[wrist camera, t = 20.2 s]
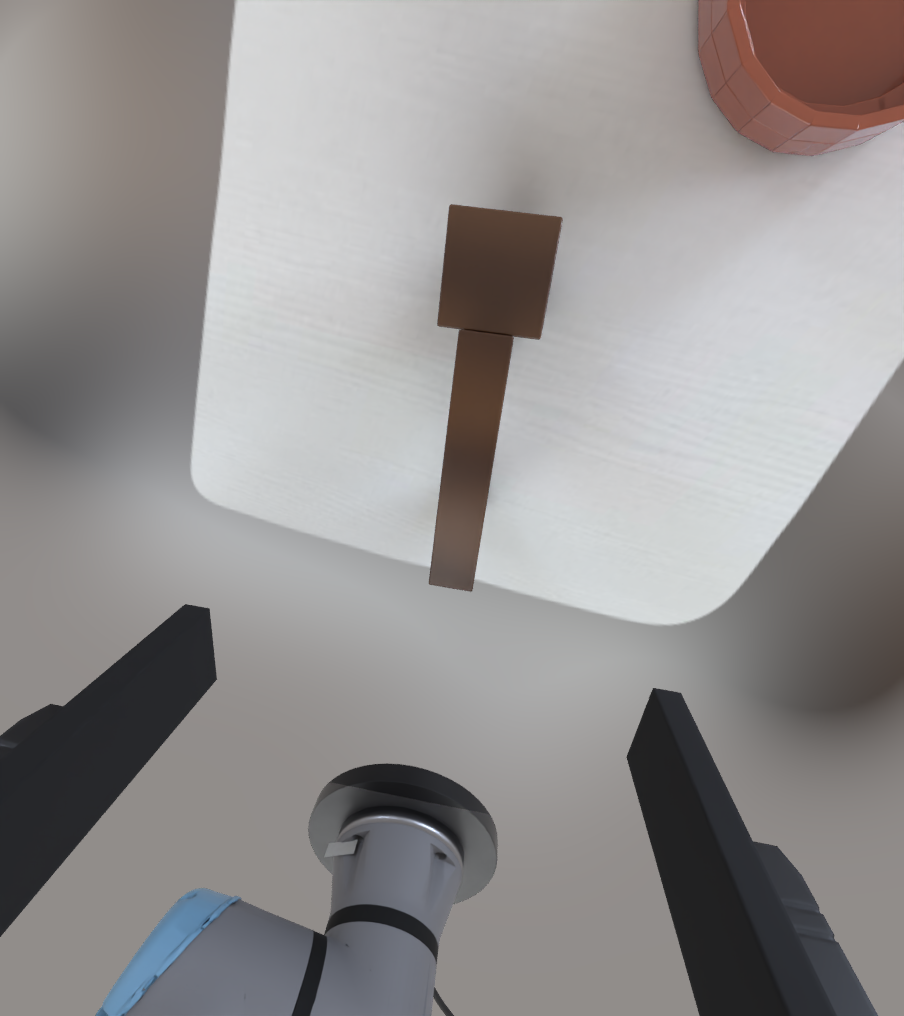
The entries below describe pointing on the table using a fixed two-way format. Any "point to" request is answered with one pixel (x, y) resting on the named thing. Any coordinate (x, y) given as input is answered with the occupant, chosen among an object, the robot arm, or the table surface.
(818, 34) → the bowl
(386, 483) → the table surface
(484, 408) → the brown wooden mallet
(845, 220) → the table surface
